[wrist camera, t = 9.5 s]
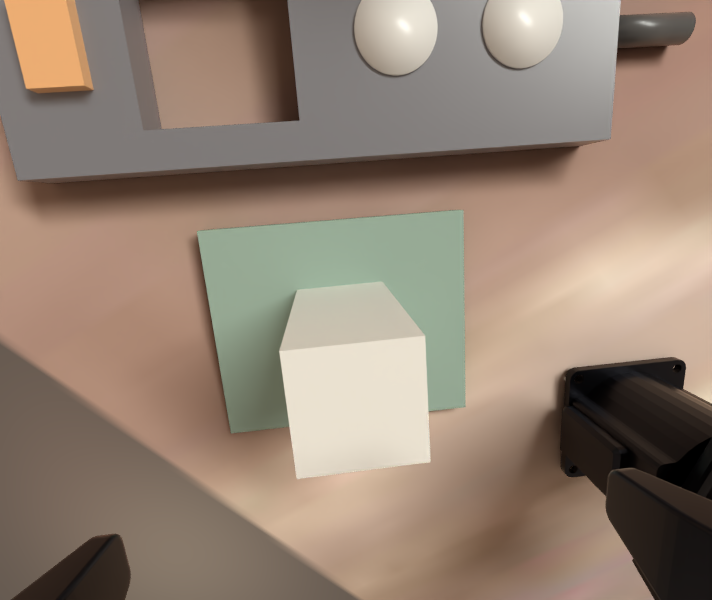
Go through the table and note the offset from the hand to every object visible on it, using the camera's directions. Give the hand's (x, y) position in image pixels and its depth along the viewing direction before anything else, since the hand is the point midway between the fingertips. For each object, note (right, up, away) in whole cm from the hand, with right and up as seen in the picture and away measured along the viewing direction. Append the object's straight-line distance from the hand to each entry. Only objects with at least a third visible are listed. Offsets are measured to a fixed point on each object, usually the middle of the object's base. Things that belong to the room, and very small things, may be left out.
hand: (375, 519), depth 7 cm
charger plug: (-1, +3, +12) cm, 12 cm away
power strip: (0, +15, +10) cm, 18 cm away
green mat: (-1, +3, +13) cm, 13 cm away
